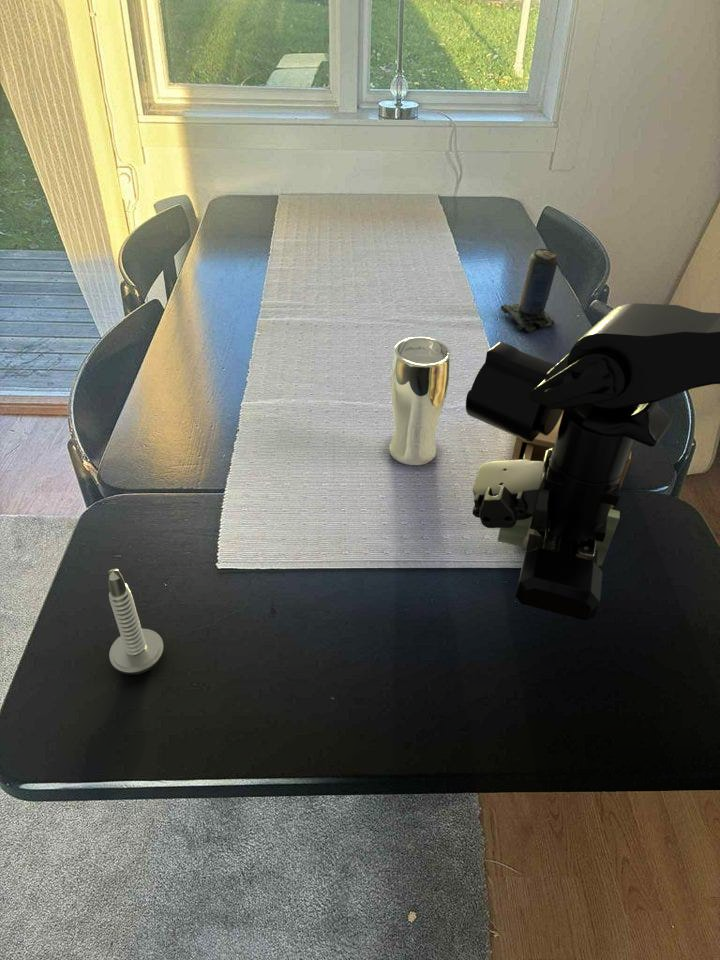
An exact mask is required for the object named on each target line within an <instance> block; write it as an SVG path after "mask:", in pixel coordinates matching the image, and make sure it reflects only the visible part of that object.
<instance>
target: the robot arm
mask: <svg viewBox="0 0 720 960" xmlns="http://www.w3.org/2000/svg"><path fill="white" fill-rule="evenodd" d="M485 355H486V356H485V361H484V363H483V364H482V366H481V367H480V369H479V371H478V372H477V374H476V376H475V378H474V381H473V383H472V385H471V388H470V389H469V390H468V391H467V394H466V399H465V411H466V414H467V416H470V417H472V418H474V419H477V420H478V421H480V422H483V423H484V424H487V425H490V426H492V427H494V428H496V429H499V430H501V431H502V432H505V433H508V434H510V435H512V436H514V437H519V438H521V439H523V440H526V441H528V442H529V441H530V442H532V441H533V440H534V439H535V438H536V437H537V436H538V434H539V433H541V434H543V435H545V436H547V435H549V434H550V433H551V432H552V430H553V429H554V428H555V426H556V425H557V423H558V421H559V419H560V417H561V415H562V418H561V422H560V426H559V429H558V433H557V437H556V441H555V444H554V446H553V447H552V448H551V449H548V450H546V452H545V456H544V460H543V461H530V460H525V459H524V460H511V459H509V460H508V459H507V460H492V461H486V462H483V464H481V465H480V466H479V468H478V471H477V475H476V477H475V481H474V483H473V487H472V493H473V496H474V499H473V502H474V503H473V504H474V506H473V510H472V515H473V516H474V517H475V518H479V519H480V522H481V525H482V526H483V527H485V528H487V529H500V528H512V527H513V526H514V525H515V524H516V521H517V520H525V519H528V518H530V517H531V516H532V520H531V524H530V529H534V530H537V531H538V533H539V534H540V535H541V536H538V535H534V534H529V537H528V542H527V547H526V551H525V553H524V555H523V559H522V564H521V567H520V568H521V569H520V573H519V578H518V583H517V587H516V592H515V598H516V599H517V600H518V602H519V603H520V604H521V605H524V606H529V607H532V608H536V609H540V610H544V611H548V612H551V613H555V614H560V615H563V616H567V617H569V618H570V617H571V618H574V619H577V620H582V621H587V622H588V621H590V620H591V619H593V618H595V616H596V613H597V611H598V609H599V606H600V604H601V595H602V583H603V570H602V569H601V568H600V566H598V565H597V557H598V550H596V549H595V548H596V542H597V541H601V542H603V540H604V538H605V535H606V528H607V516H608V513H609V511H610V508H611V505H614V507H617V504H618V502H619V499H620V496H621V488H620V483H621V477H622V475H623V472H624V469H625V466H626V464H627V461H628V458H629V455H630V453H631V454H632V449H633V447H634V445H635V441H636V442H638V443H640V444H643V445H645V446H647V447H650V448H652V447H655V446H656V445H657V444H658V443H659V441H660V440H661V439H662V438H663V436H664V435H665V434H666V432H667V431H668V430H669V428H670V427H671V425H672V424H673V420H672V418H671V417H670V416H669V415H668V412H666V410H664V409H663V408H662V407H661V405H660V403H659V402H660V401H663V400H665V399H667V398H671V397H674V396H677V395H679V394H682V393H685V392H687V391H689V390H692V389H696V388H702V387H707V386H711V385H720V312H705V311H700V310H697V309H696V310H695V309H692V308H689V307H686V306H682V305H678V304H663V303H661V304H660V303H638V302H636V303H635V302H634V303H627V304H622V305H621V306H620V305H619V306H617V307H615V308H614V309H612V310H611V311H610V312H608V313H607V314H605V316H603V317H602V318H601V319H600V320H599V321H598V322H597V323H596V324H595V325H593V326H592V328H590V329H589V330H588V331H587V332H586V333H585V334H583V336H581V337H580V338H579V339H578V340H577V341H576V342H575V344H573V346H572V348H571V349H570V350H569V353H568V354H567V355H565V356H564V357H563V358H562V359H561V360H560V361H559V362H558V363H557V364H555V363H552V362H549V361H548V360H544V359H542V358H540V357H536V356H533V355H531V354H529V353H526V352H524V351H521V350H520V349H518V348H517V347H515V346H513V345H511V344H508V343H505V342H503V341H499V342H497V343H496V344H495V345H494V346H493V347H491V348H490V349H488V350H486V354H485ZM563 410H564V411H563ZM562 413H563V414H562Z"/></svg>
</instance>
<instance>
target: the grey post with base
mask: <svg viewBox="0 0 720 960" xmlns="http://www.w3.org/2000/svg"><path fill="white" fill-rule="evenodd" d="M558 264H559V260H558V255H557V252H556V251H553V250H551V249H547V248H537V249H535V250H534V252H533V253H532V254H531V255H530V256H529V261H528V265H527V269H526V272H525V276H524V277H525V278H524V281H523V285H522V290H521V295H520V299H519V302H518V303H516V304H507V303H506V304H502V305H501V306H500V311H502V312H503V313H504V314H508V315H509V316H511V318H512V319H513V322H514V323H515V324H517V325H516V326H517V329H518V330H525V331H526V332H528V333H531V332H534V331H536V328H537V327H536V326H535V325H534V324H538V325H539V327H540V328H547V327H549V326H553V325H555V321H554V319H553V317H551V316H550V315H549V314H548V313H547V312H546V311H545V309H546V306H547V302H548V300H549V296H550V292H551V289H552V285H553V281H554V277H555V275H556V271H557V266H558Z"/></svg>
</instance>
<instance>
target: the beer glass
mask: <svg viewBox="0 0 720 960" xmlns="http://www.w3.org/2000/svg"><path fill="white" fill-rule="evenodd" d="M451 353H452V352H451V349H450V348H449V347H448V345H446V343H444V342H442V341H440V340H438V339H436V338H431V337H425V336H415V337H414V336H413V337H408V338H405V339H403V340H401V341H399V342H397V344H396V345H395V346H394V353H393V361H392V366H391V372H390V373H391V374H390V399H391V408H392V415H393V433H392V434H393V435H392V437H391V440H390V443H389V452H390V455H391V457H392V458H393V459H394V460H395V461H397V462H398V463H401V464H404V465H407V466H422V465H425V464H428V463H430V462H431V461H433V460H434V458H435V457H436V454H437V443H436V431H437V426H438V423H439V420H440V417H441V415H442V411H443V409H444V407H445V402H446V398H447V395H448V389H449V381H450V372H451V371H450V369H451Z"/></svg>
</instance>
